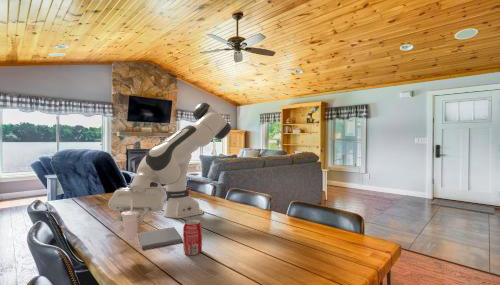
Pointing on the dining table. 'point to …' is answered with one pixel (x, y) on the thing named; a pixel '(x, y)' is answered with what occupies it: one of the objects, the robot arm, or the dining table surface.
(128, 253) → the dining table surface
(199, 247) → the soda can
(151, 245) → the gray square slab
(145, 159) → the robot arm
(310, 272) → the dining table surface
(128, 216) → the smoothie
